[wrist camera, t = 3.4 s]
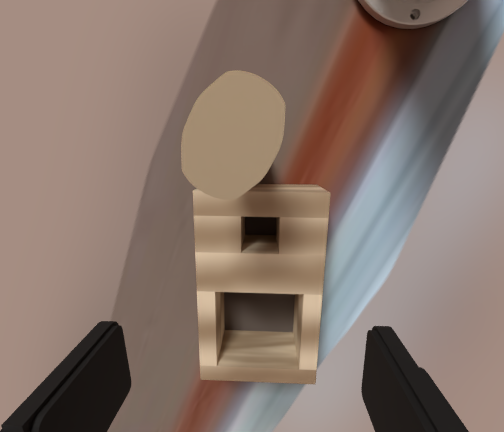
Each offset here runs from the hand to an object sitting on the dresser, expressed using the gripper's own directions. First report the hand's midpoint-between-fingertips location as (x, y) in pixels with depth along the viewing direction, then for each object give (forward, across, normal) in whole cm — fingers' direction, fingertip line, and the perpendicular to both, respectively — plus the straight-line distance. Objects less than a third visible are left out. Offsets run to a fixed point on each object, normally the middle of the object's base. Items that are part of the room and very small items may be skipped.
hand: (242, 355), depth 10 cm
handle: (+21, +1, -8) cm, 22 cm away
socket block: (+20, 0, +6) cm, 21 cm away
